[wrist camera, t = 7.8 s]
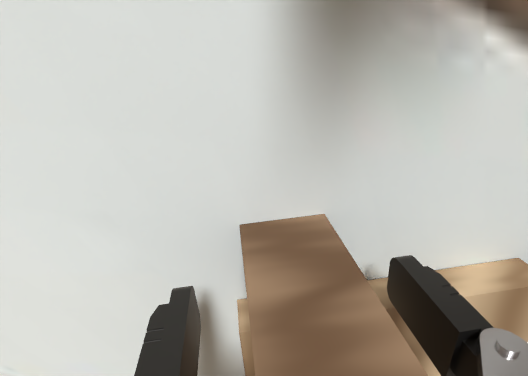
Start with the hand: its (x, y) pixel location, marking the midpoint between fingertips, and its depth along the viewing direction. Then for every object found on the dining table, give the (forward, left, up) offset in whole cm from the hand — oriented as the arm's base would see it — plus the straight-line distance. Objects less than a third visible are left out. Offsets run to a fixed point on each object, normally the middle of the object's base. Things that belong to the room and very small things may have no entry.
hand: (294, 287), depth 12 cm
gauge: (0, +4, -3) cm, 5 cm away
